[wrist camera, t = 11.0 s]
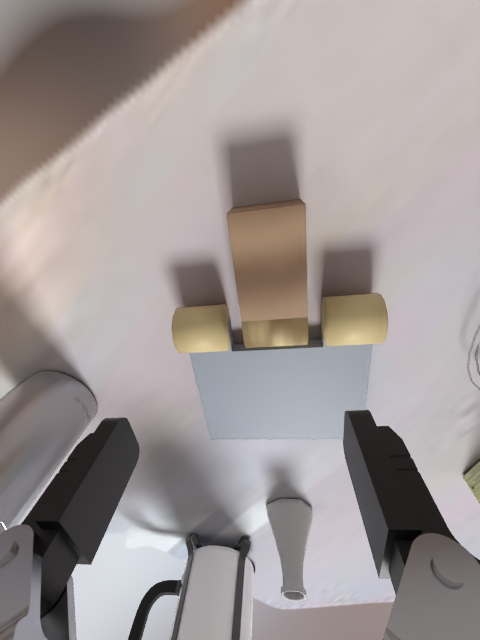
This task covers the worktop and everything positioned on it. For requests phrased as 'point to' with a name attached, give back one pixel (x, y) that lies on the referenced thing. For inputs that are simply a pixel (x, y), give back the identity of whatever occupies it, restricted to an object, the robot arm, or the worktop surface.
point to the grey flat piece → (283, 371)
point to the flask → (291, 542)
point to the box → (474, 480)
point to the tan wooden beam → (271, 272)
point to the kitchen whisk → (476, 358)
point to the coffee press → (207, 595)
